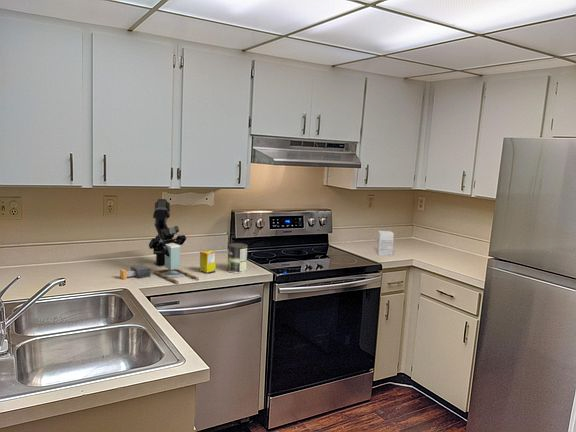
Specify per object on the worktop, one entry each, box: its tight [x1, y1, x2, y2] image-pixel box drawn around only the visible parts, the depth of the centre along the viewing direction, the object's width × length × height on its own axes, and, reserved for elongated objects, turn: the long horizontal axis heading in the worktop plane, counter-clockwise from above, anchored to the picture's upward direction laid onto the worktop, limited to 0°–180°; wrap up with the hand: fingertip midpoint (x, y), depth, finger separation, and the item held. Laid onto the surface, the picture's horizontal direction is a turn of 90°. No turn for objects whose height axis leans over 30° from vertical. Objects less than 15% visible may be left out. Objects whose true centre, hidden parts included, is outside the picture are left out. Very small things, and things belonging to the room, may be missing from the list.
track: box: [153, 268, 199, 285], centre depth 232 cm, size 22×12×1 cm, turn 43°
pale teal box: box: [164, 243, 181, 270], centre depth 233 cm, size 6×5×12 cm
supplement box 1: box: [199, 249, 217, 275], centre depth 243 cm, size 6×6×11 cm
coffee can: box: [227, 242, 248, 274], centre depth 247 cm, size 10×10×14 cm
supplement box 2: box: [376, 230, 395, 257], centre depth 301 cm, size 9×9×15 cm
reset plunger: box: [119, 268, 136, 280], centre depth 227 cm, size 4×7×4 cm, turn 133°
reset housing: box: [130, 264, 151, 279], centre depth 231 cm, size 9×6×4 cm, turn 43°
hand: (173, 255), depth 232 cm, fingers closed on pale teal box, 5 cm apart
